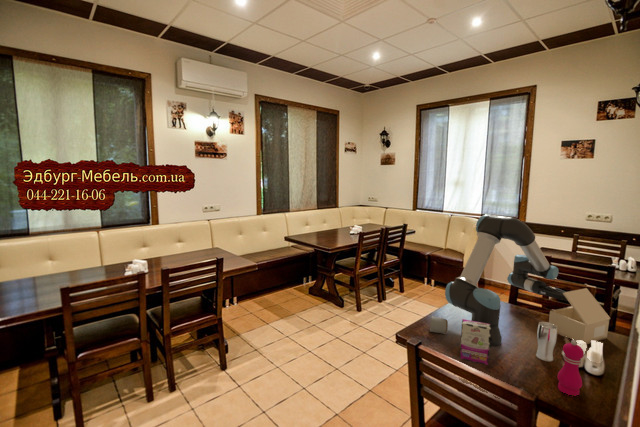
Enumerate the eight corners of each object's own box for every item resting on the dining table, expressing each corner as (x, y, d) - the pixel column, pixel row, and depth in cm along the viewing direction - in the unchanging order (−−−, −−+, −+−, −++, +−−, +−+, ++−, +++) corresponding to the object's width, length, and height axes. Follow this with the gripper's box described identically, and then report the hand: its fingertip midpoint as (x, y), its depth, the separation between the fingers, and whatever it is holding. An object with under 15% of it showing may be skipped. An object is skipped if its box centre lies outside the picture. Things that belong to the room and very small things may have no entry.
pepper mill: (560, 394, 113) (566, 343, 111) (553, 382, 120) (558, 333, 117) (584, 400, 111) (591, 347, 108) (576, 387, 118) (582, 337, 115)
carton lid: (586, 325, 145) (587, 324, 144) (562, 293, 154) (563, 292, 153) (609, 319, 151) (610, 318, 150) (585, 288, 160) (586, 288, 159)
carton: (583, 345, 146) (586, 325, 145) (548, 329, 161) (550, 311, 160) (607, 338, 152) (609, 319, 151) (570, 323, 167) (572, 305, 166)
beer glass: (555, 364, 132) (558, 330, 130) (535, 358, 135) (538, 326, 133) (553, 356, 137) (557, 324, 135) (534, 351, 141) (537, 320, 139)
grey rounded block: (447, 337, 153) (448, 322, 152) (429, 334, 156) (430, 319, 155) (445, 327, 163) (446, 313, 162) (429, 324, 166) (430, 311, 165)
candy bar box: (487, 359, 135) (490, 323, 133) (488, 365, 130) (491, 328, 128) (459, 352, 140) (462, 318, 138) (459, 358, 135) (461, 323, 133)
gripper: (542, 291, 180) (589, 307, 159) (527, 294, 176) (573, 311, 154) (544, 278, 179) (591, 293, 158) (528, 281, 175) (575, 297, 153)
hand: (582, 302), depth 156 cm, fingers closed
